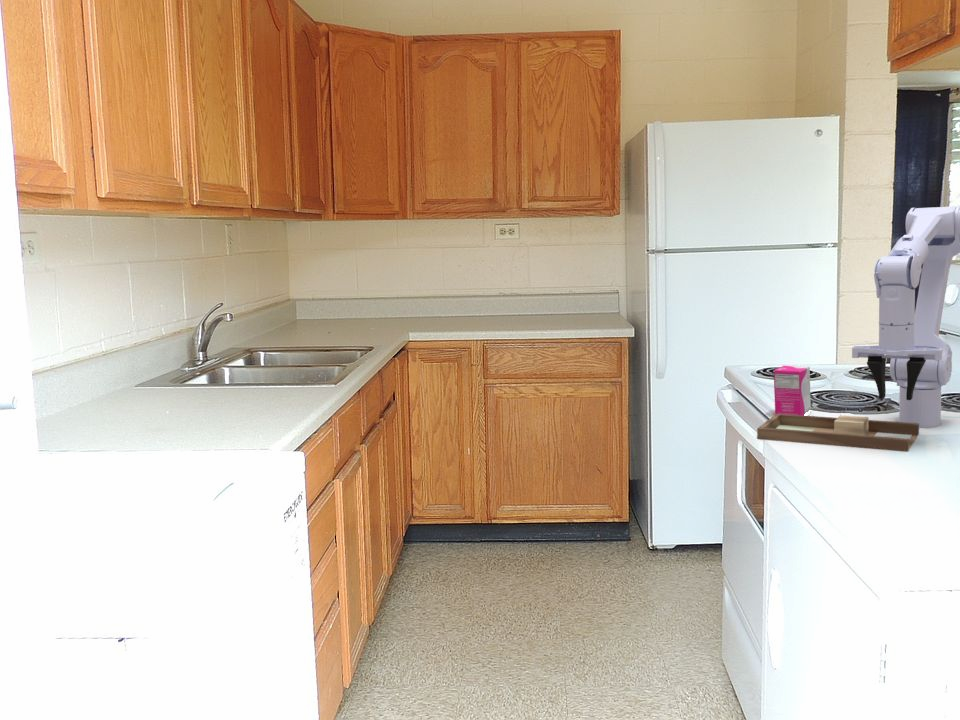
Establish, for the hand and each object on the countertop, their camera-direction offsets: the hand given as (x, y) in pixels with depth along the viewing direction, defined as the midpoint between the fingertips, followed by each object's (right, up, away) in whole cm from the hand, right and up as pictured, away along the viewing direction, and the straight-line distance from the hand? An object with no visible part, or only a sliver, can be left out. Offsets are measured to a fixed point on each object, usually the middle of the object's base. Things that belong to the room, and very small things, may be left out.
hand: (895, 398), depth 160 cm
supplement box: (-9, -6, +26) cm, 28 cm away
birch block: (-6, -8, +5) cm, 11 cm away
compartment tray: (-8, -9, +7) cm, 14 cm away
